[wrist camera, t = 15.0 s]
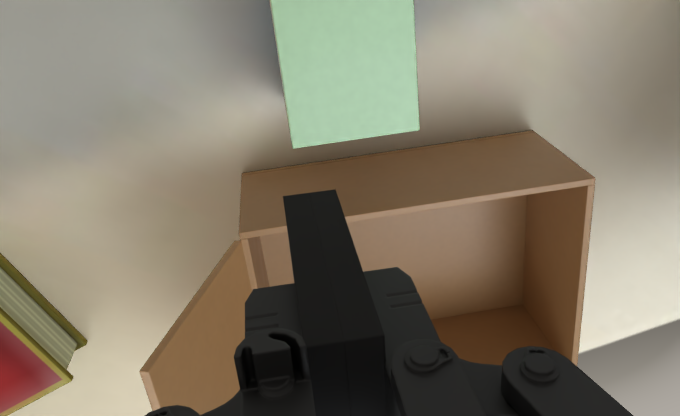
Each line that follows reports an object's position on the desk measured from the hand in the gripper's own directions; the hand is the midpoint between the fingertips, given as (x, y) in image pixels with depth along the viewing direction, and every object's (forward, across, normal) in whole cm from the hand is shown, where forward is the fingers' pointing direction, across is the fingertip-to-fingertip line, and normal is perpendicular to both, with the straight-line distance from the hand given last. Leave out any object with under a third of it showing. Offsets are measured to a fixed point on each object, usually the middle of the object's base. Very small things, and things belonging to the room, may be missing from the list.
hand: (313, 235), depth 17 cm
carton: (+19, +7, -12) cm, 24 cm away
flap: (+7, -4, -13) cm, 15 cm away
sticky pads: (+20, +3, +2) cm, 20 cm away
